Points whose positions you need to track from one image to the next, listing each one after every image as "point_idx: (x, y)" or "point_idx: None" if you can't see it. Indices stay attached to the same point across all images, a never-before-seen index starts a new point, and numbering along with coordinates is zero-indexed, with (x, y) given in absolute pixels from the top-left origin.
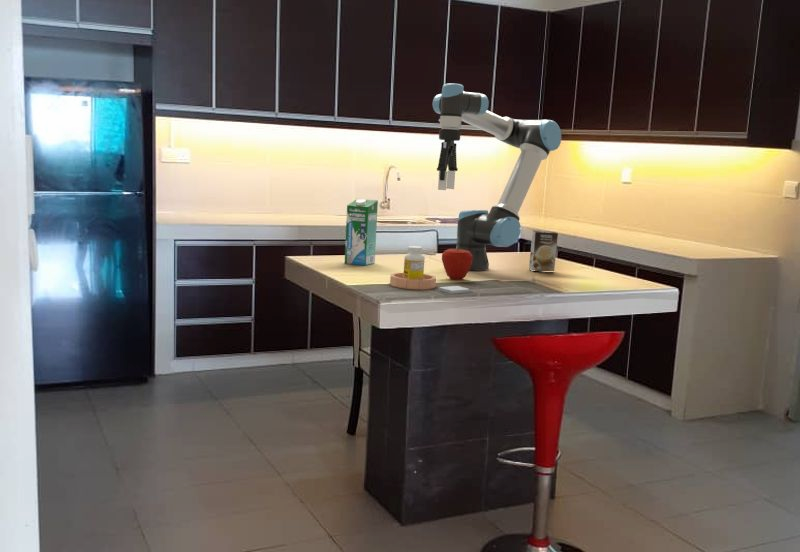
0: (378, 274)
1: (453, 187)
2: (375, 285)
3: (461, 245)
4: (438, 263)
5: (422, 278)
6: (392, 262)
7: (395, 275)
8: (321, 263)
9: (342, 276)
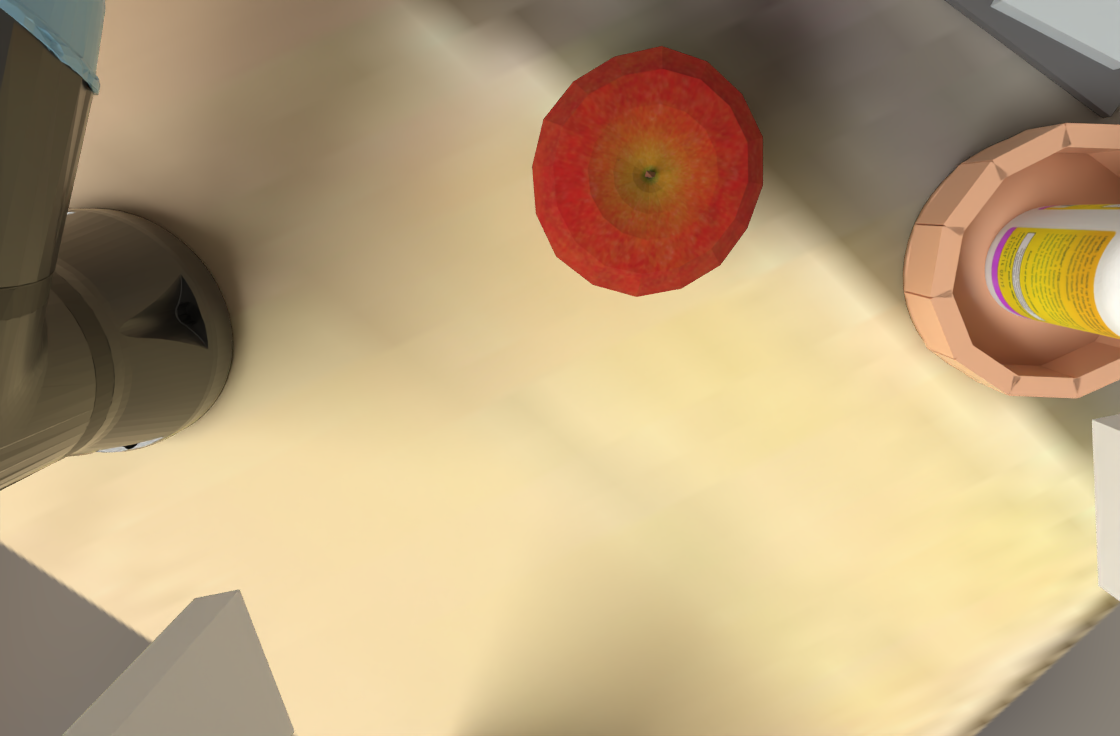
0: (767, 573)
1: (221, 617)
2: None
3: (106, 396)
4: (134, 532)
5: (1074, 205)
6: (335, 708)
7: (1058, 375)
8: None
9: (954, 657)
